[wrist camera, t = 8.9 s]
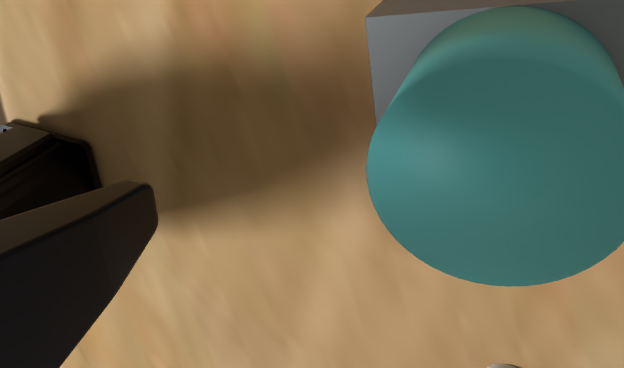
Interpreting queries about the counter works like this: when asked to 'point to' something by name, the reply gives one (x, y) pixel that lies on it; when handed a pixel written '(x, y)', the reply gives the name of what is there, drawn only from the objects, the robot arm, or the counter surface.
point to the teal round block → (505, 150)
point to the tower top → (451, 8)
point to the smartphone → (500, 366)
